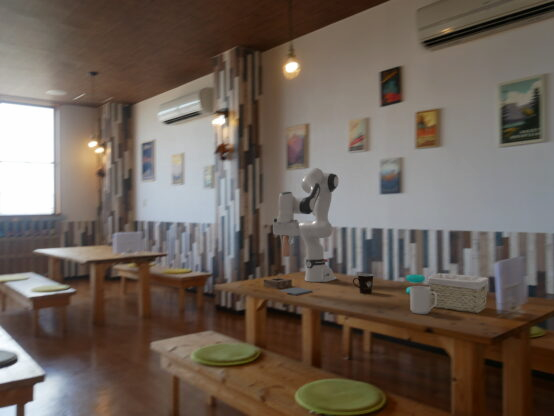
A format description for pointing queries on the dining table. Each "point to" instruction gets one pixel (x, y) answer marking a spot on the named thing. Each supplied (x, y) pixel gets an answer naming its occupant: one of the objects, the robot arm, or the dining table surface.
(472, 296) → the storage basket
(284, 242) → the dowel pin
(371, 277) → the coffee mug
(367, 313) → the dining table surface
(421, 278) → the donuts
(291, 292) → the slate mat
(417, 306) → the mug
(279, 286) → the holder block
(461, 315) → the dining table surface
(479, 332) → the dining table surface
